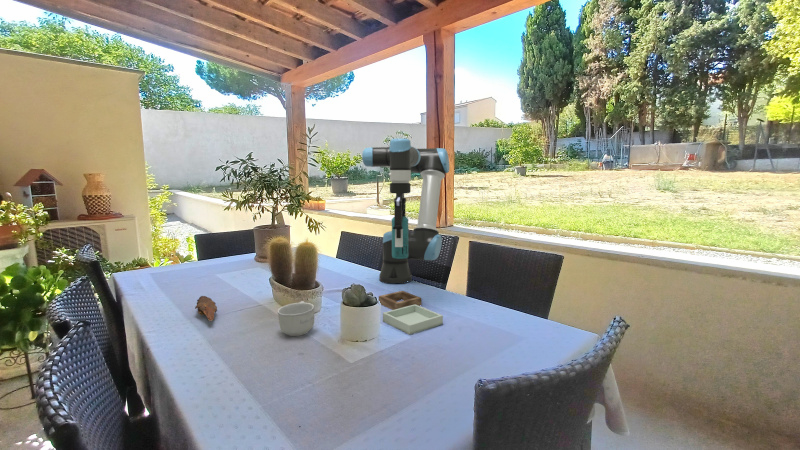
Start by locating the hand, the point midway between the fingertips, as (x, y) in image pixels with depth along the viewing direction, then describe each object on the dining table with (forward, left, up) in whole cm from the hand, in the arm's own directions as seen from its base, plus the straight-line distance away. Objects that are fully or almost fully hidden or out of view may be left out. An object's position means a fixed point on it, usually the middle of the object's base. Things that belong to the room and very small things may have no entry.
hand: (400, 245), depth 142 cm
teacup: (+40, 0, -23) cm, 46 cm away
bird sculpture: (+60, -31, -23) cm, 71 cm away
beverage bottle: (0, 0, -6) cm, 6 cm away
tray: (+8, +17, -23) cm, 29 cm away
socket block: (0, 0, -23) cm, 23 cm away
